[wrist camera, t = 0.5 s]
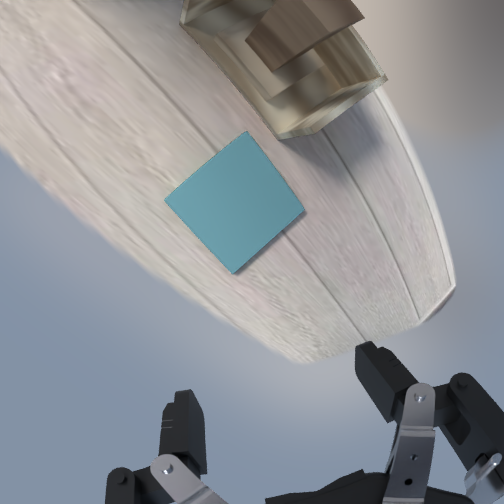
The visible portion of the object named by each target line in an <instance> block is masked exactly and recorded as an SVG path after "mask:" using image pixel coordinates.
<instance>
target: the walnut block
mask: <svg viewBox="0 0 504 504" xmlns="http://www.w3.org/2000/svg"><path fill="white" fill-rule="evenodd" d="M362 19H364V16H363V15H362V14H361V12H360V11H359V10H358V8H357V7H356V6H355V5H354V4H353V2H352V1H351V0H277V1H276V2H275V3H274V5H273V6H272V7H271V8H270V9H269V10H268V12H267V13H266V14H265V15H264V17H263V18H262V19H261V20H260V21H259V23H258V24H257V25H256V26H255V28H254V29H253V30H252V32H251V33H250V34H249V35H248V37H247V38H246V39H245V42H246V43H247V44H248V45H249V46H250V47H251V49H252V50H253V51H254V52H255V53H256V54H257V56H258V57H259V58H260V59H261V60H262V61H263V63H264V64H265V65H266V66H267V68H268V69H269V70H270V71H271V73H272V72H273V71H275V70H277V69H278V68H280V67H282V66H284V65H285V64H287V63H289V62H291V61H292V60H294V59H296V58H298V57H300V56H301V55H303V54H305V53H306V52H308V51H309V50H311V49H312V48H314V47H315V46H317V45H319V44H320V43H322V42H323V41H325V40H327V39H328V38H330V37H332V36H333V35H335V34H337V33H339V32H340V31H342V30H344V29H346V28H347V27H349V26H351V25H353V24H355V23H356V22H358V21H360V20H362Z"/></svg>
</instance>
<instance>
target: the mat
mask: <svg viewBox="0 0 504 504" xmlns="http://www.w3.org/2000/svg"><path fill="white" fill-rule="evenodd" d="M164 201H165V202H166V203H167V204H168V206H169V207H170V208H171V209H172V210H173V211H174V212H175V213H176V214H177V215H178V217H179V218H180V219H181V220H182V221H183V222H184V223H185V224H186V225H187V226H188V227H189V228H190V230H191V231H192V232H193V233H194V234H195V235H196V236H197V237H198V238H199V239H200V240H201V241H202V243H203V244H204V245H205V246H206V247H207V248H208V249H209V250H210V251H211V252H212V253H213V254H214V255H215V256H216V257H217V259H218V260H219V261H220V262H221V263H222V264H223V265H224V266H225V267H226V268H227V269H228V270H229V271H230V272H231V273H232V274H233V273H235V272H236V271H237V270H238V269H239V268H240V267H241V266H242V265H244V264H245V263H246V262H247V261H248V260H249V259H250V258H251V257H252V256H254V255H255V254H256V253H257V252H258V251H259V250H260V249H261V248H263V247H264V246H265V245H266V244H267V243H268V242H269V241H270V240H271V239H273V238H274V237H275V236H276V235H277V234H278V233H279V232H280V231H282V230H283V229H284V228H285V227H286V226H287V225H288V224H289V223H290V222H292V221H293V220H294V219H295V218H296V217H297V216H298V215H299V214H300V213H302V212H303V211H304V210H305V209H304V208H303V206H302V205H301V203H300V202H299V200H298V199H297V198H296V196H295V195H294V193H293V192H292V190H291V189H290V188H289V186H288V185H287V184H286V182H285V181H284V179H283V178H282V177H281V175H280V174H279V173H278V171H277V170H276V168H275V167H274V166H273V164H272V163H271V162H270V160H269V159H268V158H267V156H266V155H265V154H264V152H263V151H262V150H261V149H260V147H259V146H258V145H257V143H256V142H255V141H254V139H253V138H252V137H251V136H250V134H249V133H248V132H247V131H246V132H244V133H243V134H241V135H240V136H239V137H238V138H236V139H235V140H234V141H232V142H231V143H230V144H229V145H227V146H226V147H225V148H224V149H222V150H221V151H220V152H219V153H217V154H216V155H215V156H214V157H212V158H211V159H210V160H209V161H208V162H206V163H205V164H204V165H203V166H202V167H200V168H199V169H198V170H197V171H196V172H195V173H193V174H192V175H191V176H190V177H189V178H188V179H187V180H185V181H184V182H183V183H182V184H181V185H180V186H179V187H177V188H176V189H175V190H174V191H173V192H172V193H171V194H170V195H169V196H168V197H166V198H165V199H164Z"/></svg>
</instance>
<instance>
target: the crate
mask: <svg viewBox="0 0 504 504" xmlns="http://www.w3.org/2000/svg"><path fill="white" fill-rule="evenodd" d="M276 1H277V0H184V2H183V7H182V13H181V18H180V24H179V25H180V26H181V27H182V28H183V29H184V30H185V31H186V32H187V33H188V34H189V35H190V36H191V37H192V38H193V39H194V40H195V41H196V42H197V43H198V44H199V46H200V47H201V48H202V49H203V50H204V51H205V52H206V53H207V54H208V55H209V56H210V58H211V59H212V60H213V61H214V62H215V63H216V64H217V65H218V67H219V68H220V69H221V70H222V71H223V72H224V74H225V75H226V76H227V77H228V78H229V79H230V81H231V82H232V83H233V84H234V85H235V86H236V88H237V89H238V90H239V91H240V93H241V94H242V95H243V96H244V97H245V99H246V100H247V101H248V102H249V104H250V105H251V106H252V107H253V109H254V110H255V111H256V112H257V114H258V115H259V116H260V118H261V119H262V120H263V121H264V123H265V124H266V125H267V127H268V128H269V129H270V131H271V132H272V133H273V135H274V136H275V137H276V139H277V140H282V139H287V138H293V137H299V136H305V135H311V134H316V133H317V132H318V131H319V130H321V129H322V128H323V127H325V126H326V125H327V124H329V123H330V122H331V121H333V120H334V119H335V118H336V117H338V116H339V115H340V114H342V113H343V112H344V111H346V110H347V109H349V108H350V107H351V106H353V105H354V104H355V103H357V102H358V101H359V100H361V99H362V98H364V97H365V96H366V95H368V94H369V93H371V92H372V91H373V90H375V89H376V88H378V87H379V86H380V85H382V84H383V83H385V82H386V81H387V80H388V79H387V77H386V75H385V74H384V72H383V70H382V69H381V67H380V65H379V64H378V62H377V61H376V59H375V57H374V56H373V54H372V53H371V51H370V50H369V48H368V47H367V45H366V44H365V42H364V41H363V40H362V38H361V37H360V35H359V34H358V33H357V31H356V30H355V29H354V27H353V26H352V25H351V26H349V27H347V28H346V29H344V30H342V31H340V32H339V33H337V34H335V35H333V36H332V37H330V38H328V39H327V40H325V41H323V42H322V43H320V44H319V45H317V46H315V47H314V48H312V49H311V50H309V51H308V52H306V53H305V54H303V55H301V56H300V57H298V58H296V59H294V60H292V61H291V62H289V63H287V64H285V65H284V66H282V67H280V68H278V69H277V70H275V71H273V72H272V73H271V71H270V70H269V69H268V68H267V66H266V65H265V64H264V63H263V61H262V60H261V59H260V58H259V57H258V56H257V54H256V53H255V52H254V51H253V50H252V49H251V47H250V46H249V45H248V44H247V43H246V42H245V39H246V38H247V37H248V35H249V34H250V33H251V32H252V30H253V29H254V28H255V26H256V25H257V24H258V23H259V21H260V20H261V19H262V18H263V17H264V15H265V14H266V13H267V12H268V10H269V9H270V8H271V7H272V6H273V5H274V3H275V2H276Z"/></svg>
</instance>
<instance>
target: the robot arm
mask: <svg viewBox="0 0 504 504" xmlns="http://www.w3.org/2000/svg"><path fill="white" fill-rule="evenodd" d="M355 372H356V375H357V377H358V379H359V381H360V382H361V384H362V385H363V387H364V388H365V390H366V391H367V393H368V394H369V396H370V397H371V399H372V400H373V402H374V403H375V405H376V407H377V408H378V410H379V411H380V413H381V414H382V416H383V417H384V419H385V420H386V422H387V423H389V422H391V421H393V420H395V421H396V423H397V426H396V431H395V435H394V440H393V444H392V449H391V452H390V456H389V459H388V462H387V465H386V468H385V471H384V473H380V472H373V473H364V471H363V469H361V470H359V471H356V472H354V473H351V474H349V475H346V476H343V477H341V478H339V479H337V480H336V481H334V482H332V483H330V484H329V485H327V486H325V487H324V488H322V489H320V490H318V491H314V492H303V493H289V494H284V495H280V496H276V497H271V498H266V499H265V502H266V504H492V503H493V502H494V501H496V500H498V499H499V498H500V497H502V496H503V495H504V412H503V411H502V410H501V408H500V407H499V406H498V405H497V404H496V402H494V400H493V399H492V398H491V397H490V396H489V394H488V393H487V392H486V391H485V390H484V389H483V388H482V386H481V385H480V384H479V383H478V382H477V381H476V380H475V379H474V378H473V377H472V376H471V375H470V374H467V373H458V374H455V375H454V376H453V377H452V378H451V380H450V382H449V383H448V384H444V385H440V386H436V387H432V386H430V385H429V384H425V383H419V382H418V381H417V380H416V379H415V378H414V376H413V375H412V374H411V373H410V372H409V371H408V370H407V368H405V366H404V365H403V364H401V362H400V361H399V359H397V357H396V356H395V355H394V354H393V353H392V351H390V350H388V349H386V348H384V347H380V348H377V347H376V346H375V345H374V343H373V342H372V341H368V342H365V343H363V344H360V345H357V346H356V348H355ZM437 426H439V427H440V429H441V431H442V432H443V434H444V435H445V437H446V438H447V440H448V441H449V443H450V444H451V446H452V447H453V449H454V450H455V452H456V454H457V455H458V457H459V458H460V460H461V461H462V463H463V465H464V466H465V468H466V469H467V471H468V472H467V473H466V476H465V479H464V482H465V487H466V496H465V495H462V494H457V493H453V492H449V491H444V490H440V489H436V488H432V487H429V486H427V484H428V479H429V474H430V468H431V463H432V456H433V450H434V442H435V430H433V428H434V427H437ZM161 427H162V429H161V435H160V447H159V455H158V457H157V458H155V459H154V460H153V462H152V463H151V466H149V467H146V468H143V469H140V470H137V471H133V472H132V471H131V470H129V469H127V468H124V467H120V468H116V469H114V470H112V472H110V473H109V475H108V478H107V486H106V497H105V504H169V503H172V502H177V503H178V504H228V503H227V502H226V501H224V500H223V499H222V498H221V497H220V496H218V495H217V494H216V493H215V492H214V491H212V490H211V489H210V488H209V487H208V486H206V485H205V484H204V483H203V482H202V481H201V480H200V475H202V474H207V462H206V445H205V423H204V415H203V411H202V409H201V407H200V405H199V403H198V401H197V399H196V397H195V395H194V393H193V391H192V390H191V389H190V390H184V391H177V392H176V393H175V399H174V403H168V404H167V406H166V407H165V409H164V411H163V416H162V425H161Z"/></svg>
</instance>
